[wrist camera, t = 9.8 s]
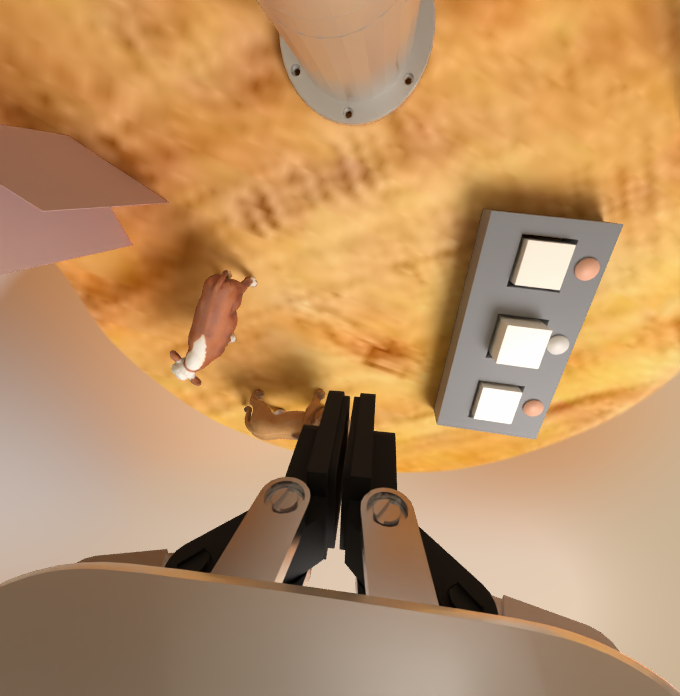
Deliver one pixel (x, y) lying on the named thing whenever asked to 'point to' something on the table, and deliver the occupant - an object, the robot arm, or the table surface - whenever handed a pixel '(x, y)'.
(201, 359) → the bull figurine
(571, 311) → the button board
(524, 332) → the middle button
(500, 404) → the outer button
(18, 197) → the greeting card
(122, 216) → the table surface
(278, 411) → the lion figurine
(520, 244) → the inner button
